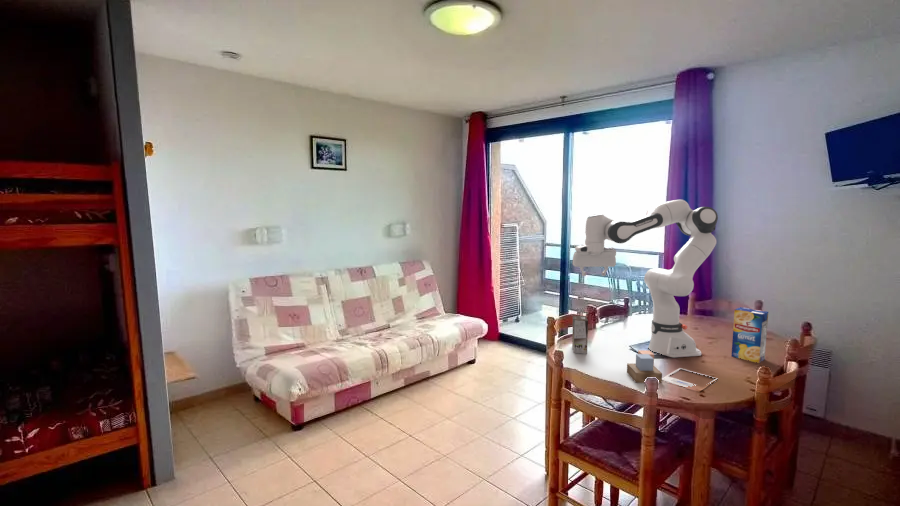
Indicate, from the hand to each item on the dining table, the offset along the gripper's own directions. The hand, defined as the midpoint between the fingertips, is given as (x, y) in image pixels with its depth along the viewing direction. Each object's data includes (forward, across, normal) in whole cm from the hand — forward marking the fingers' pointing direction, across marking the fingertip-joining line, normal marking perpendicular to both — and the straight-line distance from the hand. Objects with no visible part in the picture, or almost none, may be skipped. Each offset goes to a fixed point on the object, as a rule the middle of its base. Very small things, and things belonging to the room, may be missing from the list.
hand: (593, 275), depth 210 cm
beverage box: (+35, -65, +17) cm, 76 cm away
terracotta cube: (+35, -17, +24) cm, 46 cm away
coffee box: (+35, +8, +8) cm, 37 cm away
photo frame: (+36, -27, +42) cm, 61 cm away
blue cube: (+31, -10, +40) cm, 52 cm away
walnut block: (+35, -10, +40) cm, 54 cm away
